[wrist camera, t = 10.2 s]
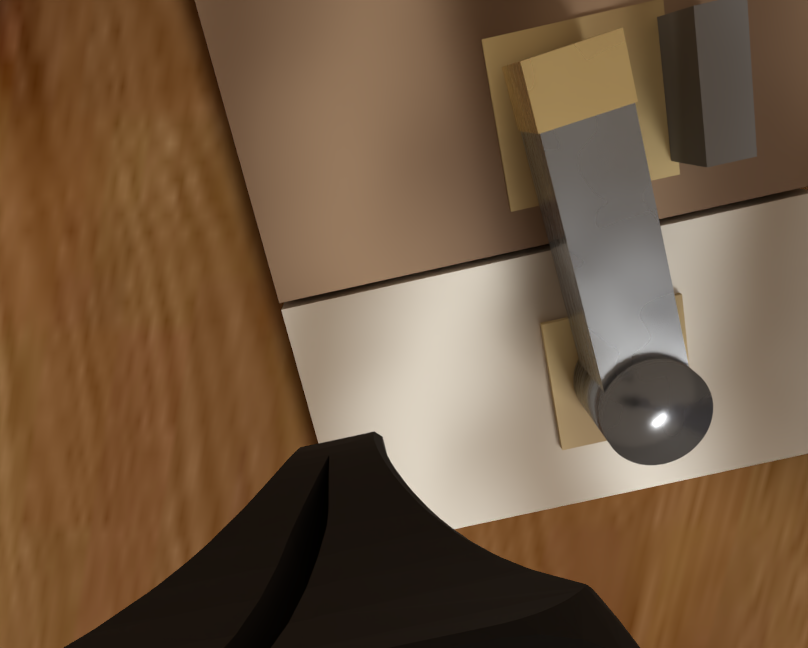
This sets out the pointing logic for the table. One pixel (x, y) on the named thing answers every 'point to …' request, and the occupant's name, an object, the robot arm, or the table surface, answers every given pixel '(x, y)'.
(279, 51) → the door board
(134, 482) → the table surface
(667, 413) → the latch bar
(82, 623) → the table surface
